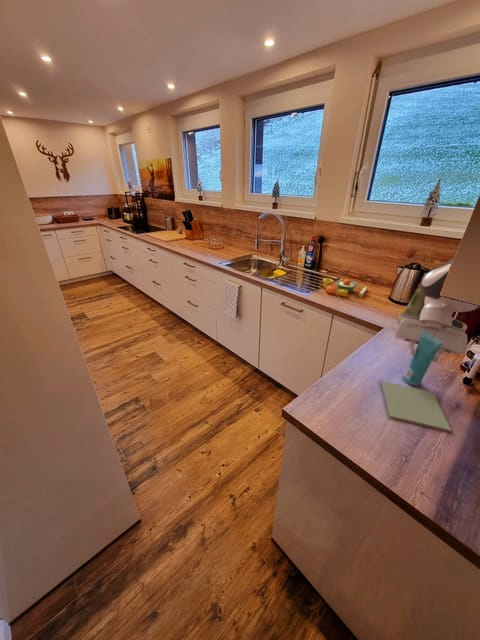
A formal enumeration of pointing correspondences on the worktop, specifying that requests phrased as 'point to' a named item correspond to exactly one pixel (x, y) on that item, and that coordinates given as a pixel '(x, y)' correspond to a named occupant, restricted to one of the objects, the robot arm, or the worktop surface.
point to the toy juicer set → (342, 287)
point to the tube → (422, 358)
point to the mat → (414, 406)
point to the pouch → (415, 303)
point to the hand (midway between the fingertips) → (423, 357)
